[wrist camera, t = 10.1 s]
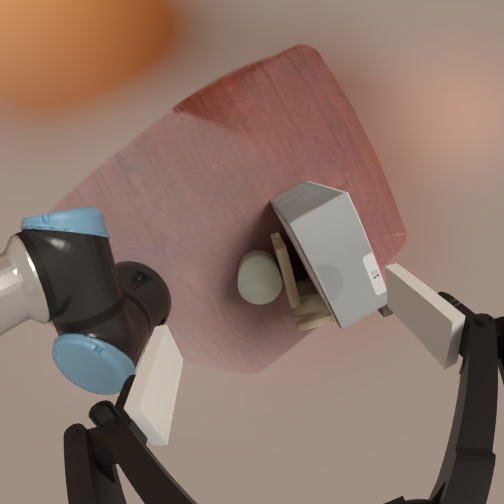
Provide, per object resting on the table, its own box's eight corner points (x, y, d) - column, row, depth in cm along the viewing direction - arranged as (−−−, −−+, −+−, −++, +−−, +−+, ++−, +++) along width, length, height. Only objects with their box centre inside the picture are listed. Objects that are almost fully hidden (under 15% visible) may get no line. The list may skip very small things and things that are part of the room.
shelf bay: (285, 290, 54) (303, 344, 38) (270, 234, 51) (284, 270, 35) (353, 270, 54) (393, 313, 37) (343, 213, 50) (386, 239, 34)
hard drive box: (343, 254, 53) (392, 303, 34) (307, 273, 53) (340, 333, 35) (307, 177, 48) (348, 191, 29) (267, 199, 49) (285, 225, 30)
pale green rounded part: (240, 288, 54) (240, 306, 47) (236, 252, 52) (235, 266, 45) (279, 284, 54) (283, 302, 47) (276, 247, 52) (280, 261, 45)
